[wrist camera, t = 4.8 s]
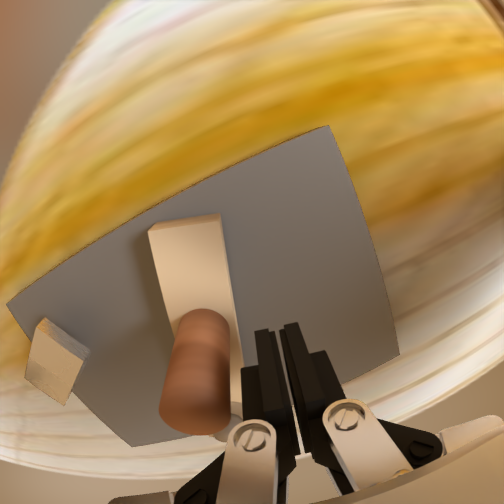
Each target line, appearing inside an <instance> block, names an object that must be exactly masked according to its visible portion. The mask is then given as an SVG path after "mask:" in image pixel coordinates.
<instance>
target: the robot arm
mask: <svg viewBox="0 0 504 504" xmlns="http://www.w3.org/2000/svg"><path fill="white" fill-rule="evenodd" d="M254 334H255V343H256V351H257V359H258V365H254V366H249V367H243V368H241V369H240V374H241V394H242V414H243V422H242V423H239V424H238V425H237V426H235V427H234V428H233V429H232V430H231V432H230V434H229V436H228V440H227V445H226V451H225V452H223V453H222V454H221V455H220V456H219V457H218V458H217V459H215V460H214V461H213V462H212V463H211V464H209V465H208V466H207V467H206V468H205V469H204V470H202V471H201V472H200V473H199V474H197V475H196V476H195V477H194V478H192V479H191V480H190V481H189V482H187V483H186V484H185V485H184V486H183V487H181V488H180V489H179V490H178V491H176V492H169V491H163V492H157V493H150V494H143V495H135V496H124V497H118V498H114V499H113V500H111V501H110V502H109V503H108V504H288V487H289V478H288V475H289V474H290V473H291V472H292V471H293V469H294V468H295V467H296V460H295V456H296V455H300V454H301V453H300V448H299V442H298V437H297V432H296V427H295V421H294V416H293V411H292V406H291V401H290V397H289V392H288V388H287V383H286V379H285V374H284V370H283V365H282V361H281V357H280V352H279V348H278V343H277V339H276V334H275V331H271V332H269V329H268V328H267V329H262V330H257V331H254ZM279 334H280V339H281V344H282V350H283V355H284V360H285V365H286V371H287V376H288V381H289V386H290V390H291V394H292V399H293V403H294V407H295V412H296V416H297V420H298V424H299V429H300V433H301V437H302V442H303V446H304V450H305V453H309V452H311V454H312V458H313V459H314V460H315V462H316V463H318V464H321V465H323V466H325V467H326V471H327V473H328V475H329V477H330V479H331V481H332V483H333V484H334V487H335V489H336V491H337V493H338V495H339V497H336V498H332V499H329V500H324V501H320V502H316V503H311V504H504V422H503V420H502V419H501V418H499V417H498V416H495V415H488V416H484V417H481V418H479V419H475V420H473V421H469V422H466V423H463V424H460V425H457V426H453V427H450V428H446V429H443V430H441V431H440V433H437V434H432V433H430V432H426V431H422V430H418V429H414V428H410V427H406V426H402V425H399V424H395V423H391V422H388V421H384V420H381V419H377V418H376V417H375V416H374V414H373V413H372V412H371V410H370V409H369V408H368V406H367V405H366V404H364V403H363V402H361V401H359V400H356V399H346V397H345V394H344V392H343V389H342V387H341V385H340V382H339V380H338V378H337V375H336V373H335V371H334V368H333V366H332V364H331V361H330V359H329V357H328V355H327V352H326V351H325V350H322V351H318V352H314V353H310V354H309V352H308V349H307V346H306V343H305V340H304V338H303V335H302V332H301V329H300V327H299V324H298V322H294V323H290V324H285V325H284V329H280V330H279Z"/></svg>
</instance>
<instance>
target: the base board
mask: <svg viewBox="0 0 504 504" xmlns="http://www.w3.org/2000/svg"><path fill="white" fill-rule="evenodd" d="M216 213H220V214H221V221H222V228H223V234H224V241H225V248H226V254H227V261H228V267H229V274H230V280H231V287H232V293H233V299H234V305H235V311H236V317H237V323H238V329H239V335H240V341H241V347H242V353H243V358H244V364H245V367H249V366H254V365H258V359H257V351H256V343H255V334H254V331H257V330H262V329H267V328H268V329H269V332H271V331H275V334H276V339H277V343H278V348H279V352H280V357H281V361H282V365H283V370H284V374H285V379H286V383H287V388H288V392H289V397H290V401H291V405H294V403H293V399H292V394H291V390H290V386H289V381H288V376H287V371H286V365H285V360H284V355H283V350H282V344H281V339H280V334H279V330H280V329H284V325H285V324H290V323H294V322H298V324H299V327H300V329H301V332H302V335H303V338H304V340H305V343H306V346H307V349H308V352H309V354H310V353H314V352H318V351H322V350H325V351H326V352H327V355H328V357H329V359H330V361H331V364H332V366H333V368H334V371H335V373H336V375H337V378H338V380H339V382H340V385H341V384H343V383H346V382H348V381H350V380H352V379H354V378H356V377H358V376H360V375H362V374H364V373H366V372H368V371H370V370H372V369H374V368H376V367H378V366H380V365H382V364H384V363H386V362H387V361H389V360H391V359H393V358H395V357H396V356H398V355H400V353H399V347H398V342H397V337H396V332H395V328H394V323H393V318H392V314H391V310H390V305H389V301H388V297H387V293H386V289H385V285H384V281H383V278H382V274H381V270H380V267H379V263H378V260H377V256H376V253H375V249H374V246H373V243H372V239H371V236H370V233H369V230H368V227H367V224H366V221H365V218H364V215H363V212H362V209H361V206H360V203H359V200H358V197H357V195H356V192H355V189H354V186H353V184H352V181H351V178H350V176H349V173H348V170H347V168H346V165H345V163H344V160H343V158H342V155H341V153H340V150H339V148H338V145H337V143H336V141H335V138H334V136H333V134H332V131H331V129H330V127H329V125H327V126H323V127H319V128H316V129H314V130H311V131H309V132H307V133H304V134H302V135H299V136H297V137H294V138H292V139H290V140H287V141H285V142H283V143H280V144H278V145H276V146H274V147H271V148H269V149H267V150H265V151H262V152H260V153H258V154H256V155H254V156H251V157H249V158H247V159H245V160H243V161H241V162H239V163H236V164H234V165H232V166H230V167H228V168H226V169H224V170H222V171H220V172H218V173H216V174H214V175H212V176H210V177H208V178H206V179H204V180H202V181H200V182H198V183H196V184H194V185H192V186H190V187H188V188H187V189H185V190H183V191H181V192H179V193H177V194H175V195H173V196H172V197H170V198H168V199H166V200H164V201H162V202H161V203H159V204H157V205H155V206H153V207H152V208H150V209H148V210H146V211H145V212H143V213H141V214H139V215H138V216H136V217H134V218H132V219H131V220H129V221H127V222H126V223H124V224H122V225H121V226H119V227H117V228H116V229H114V230H112V231H111V232H109V233H107V234H106V235H104V236H102V237H101V238H99V239H98V240H96V241H94V242H93V243H91V244H90V245H88V246H87V247H85V248H84V249H82V250H80V251H79V252H77V253H76V254H74V255H73V256H71V257H70V258H68V259H67V260H65V261H64V262H62V263H61V264H59V265H58V266H56V267H55V268H54V269H52V270H51V271H49V272H48V273H46V274H45V275H43V276H42V277H41V278H39V279H38V280H36V281H35V282H34V283H32V284H31V285H30V286H28V287H27V288H25V289H24V290H23V291H21V292H20V293H19V294H17V295H16V296H15V297H14V298H13V299H12V300H10V301H9V302H8V303H7V304H6V305H7V307H8V309H9V310H10V312H11V313H12V315H13V316H14V318H15V319H16V321H17V322H18V324H19V325H20V327H21V328H22V330H23V331H24V332H25V334H26V335H27V337H28V338H29V339H30V341H31V342H32V341H33V337H34V333H35V329H36V327H37V325H38V324H39V323H40V322H41V321H42V320H43V319H44V318H47V319H48V320H49V321H51V322H52V323H53V324H55V325H56V326H57V327H59V328H60V329H61V330H63V331H64V332H66V333H67V334H68V335H70V336H71V337H73V338H74V339H76V340H77V341H78V342H80V343H81V344H83V345H84V346H86V347H87V348H89V349H90V352H89V353H91V354H90V356H89V358H88V360H87V362H86V365H85V367H84V369H83V371H82V373H81V375H80V377H79V379H78V381H77V382H76V384H75V386H74V388H73V390H72V392H73V393H74V394H75V395H76V396H77V397H78V398H79V399H80V400H81V401H82V402H83V403H84V404H85V405H86V406H87V407H88V408H89V409H90V410H91V411H92V412H93V413H94V414H95V415H96V416H97V417H98V418H99V419H100V420H101V421H102V422H103V423H105V424H106V425H107V426H108V427H109V428H110V429H111V430H112V431H113V432H114V433H116V434H117V435H118V436H119V437H120V438H121V439H123V440H124V441H125V442H126V443H127V444H128V445H130V446H131V447H136V446H143V445H149V444H155V443H160V442H165V441H170V440H175V439H180V438H184V437H189V436H193V435H190V434H185V433H182V432H179V431H177V430H175V429H173V428H171V427H170V426H168V425H167V424H166V423H165V422H164V421H163V420H162V418H161V417H160V415H159V411H158V409H159V403H160V399H161V395H162V390H163V386H164V382H165V378H166V373H167V369H168V365H169V361H170V357H171V353H172V349H173V345H174V341H175V338H174V334H173V331H172V328H171V324H170V321H169V317H168V314H167V310H166V306H165V303H164V299H163V295H162V291H161V287H160V283H159V279H158V275H157V271H156V267H155V263H154V259H153V254H152V250H151V245H150V241H149V236H148V230H149V229H150V228H151V227H152V226H153V225H154V224H155V223H156V222H162V221H168V220H175V219H181V218H188V217H195V216H201V215H208V214H216Z"/></svg>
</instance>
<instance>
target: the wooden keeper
mask: <svg viewBox="0 0 504 504" xmlns="http://www.w3.org/2000/svg"><path fill="white" fill-rule="evenodd" d="M89 352H90V349H89V348H87V347H86V346H84V345H83V344H81V343H80V342H78V341H77V340H76V339H74V338H73V337H71V336H70V335H68V334H67V333H66V332H64V331H63V330H61V329H60V328H59V327H57V326H56V325H55V324H53V323H52V322H51V321H49V320H48V319H47V318H44V319H43V320H42V321H41V322H40V323H39V324H38V325H37V327H36V329H35V333H34V337H33V341H32V345H31V349H30V353H29V358H28V363H27V368H26V373H25V379H26V380H28V381H29V382H30V383H32V384H33V385H34V386H36V387H37V388H39V389H40V390H41V391H43V392H44V393H46V394H47V395H49V396H50V397H51V398H53V399H54V400H56V401H57V402H59V403H61V404H62V405H65V403H66V401H67V399H68V397H69V396H70V394H71V392H72V390H73V388H74V386H75V384H76V382H77V381H78V379H79V377H80V375H81V373H82V371H83V369H84V367H85V365H86V362H87V360H88V358H89V356H90V354H91V353H89Z"/></svg>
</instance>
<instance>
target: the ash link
mask: <svg viewBox="0 0 504 504" xmlns="http://www.w3.org/2000/svg"><path fill="white" fill-rule="evenodd" d="M148 236H149V241H150V245H151V250H152V254H153V259H154V263H155V267H156V271H157V275H158V279H159V283H160V287H161V291H162V295H163V299H164V303H165V306H166V310H167V314H168V317H169V321H170V324H171V328H172V331H173V334H174V338H175V341H174V345H173V349H172V353H171V357H170V361H169V365H168V369H167V373H166V378H165V382H164V386H163V390H162V395H161V399H160V403H159V409H158V411H159V415H160V417H161V418H162V420H163V421H164V422H165V423H166V424H167V425H168V426H170V427H171V428H173V429H175V430H177V431H179V432H182V433H185V434H190V435H209V437H215V438H216V439H217V440H219V441H222V442H227V440H228V436H229V434H230V432H231V430H232V429H233V428H234V427H235V426H237V425H238V424H239V423H242V422H243V414H242V394H241V374H240V369H241V368H243V367H245V364H244V358H243V353H242V347H241V341H240V335H239V329H238V323H237V317H236V311H235V305H234V299H233V293H232V287H231V280H230V274H229V267H228V261H227V254H226V248H225V241H224V234H223V228H222V221H221V214H220V213H216V214H208V215H201V216H195V217H188V218H181V219H175V220H168V221H162V222H156V223H155V224H154V225H153V226H152V227H151V228H150V229H149V230H148Z"/></svg>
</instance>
